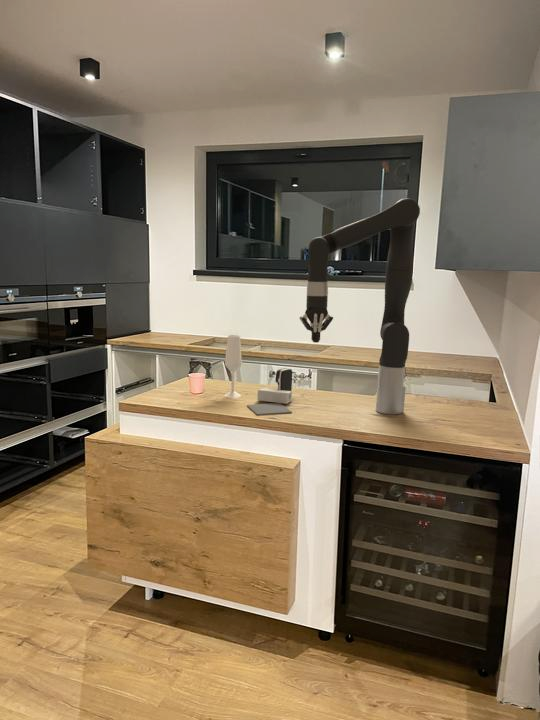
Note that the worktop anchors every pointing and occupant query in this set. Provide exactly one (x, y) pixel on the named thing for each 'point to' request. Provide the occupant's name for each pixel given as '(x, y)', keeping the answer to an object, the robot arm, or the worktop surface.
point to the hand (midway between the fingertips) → (315, 342)
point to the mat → (269, 409)
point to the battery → (284, 379)
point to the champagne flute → (233, 360)
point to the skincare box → (274, 395)
